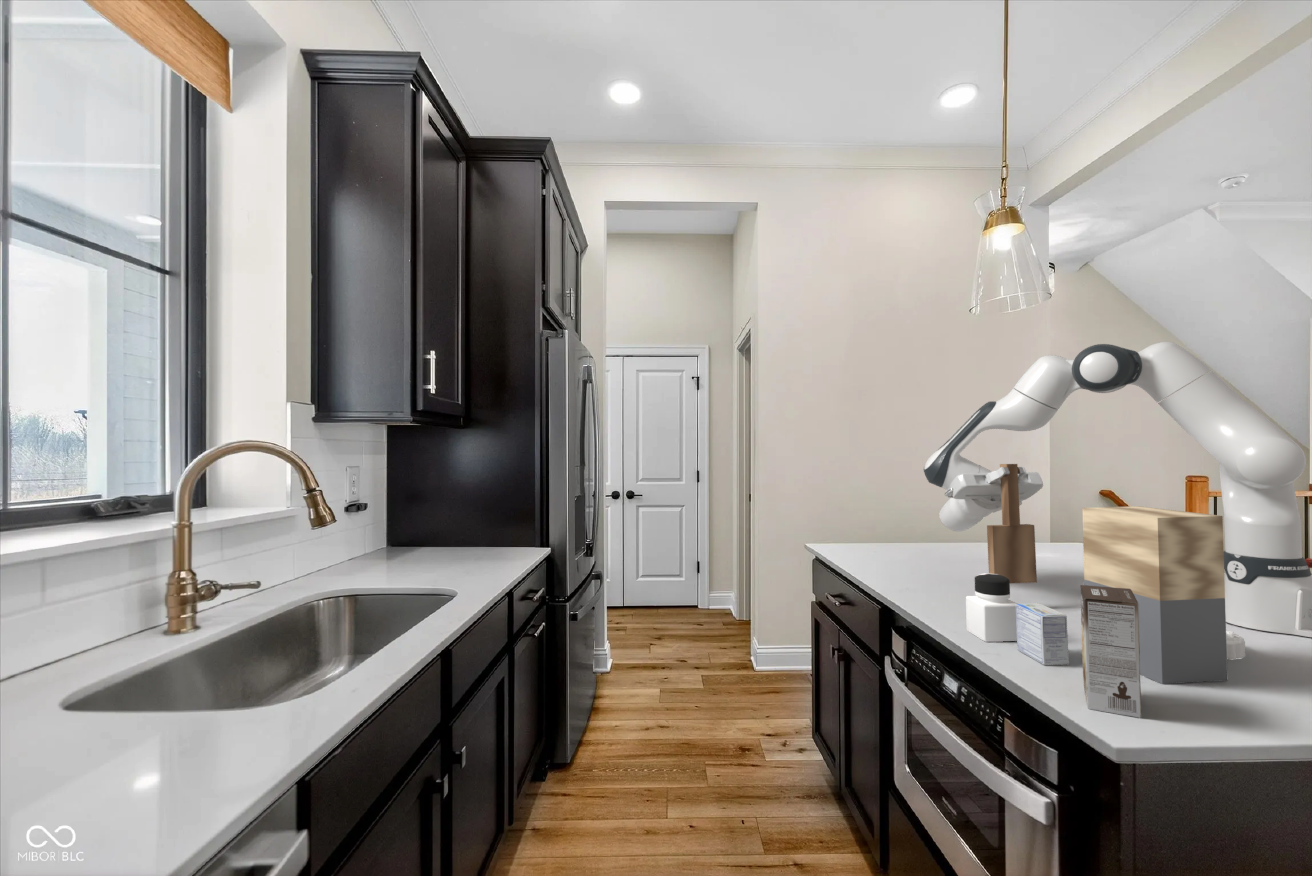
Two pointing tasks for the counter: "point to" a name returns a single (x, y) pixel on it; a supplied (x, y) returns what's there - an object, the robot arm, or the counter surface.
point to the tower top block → (1155, 552)
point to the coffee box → (1111, 650)
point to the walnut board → (1012, 536)
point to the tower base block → (1181, 639)
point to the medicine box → (1042, 633)
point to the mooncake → (1234, 645)
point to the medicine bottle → (991, 609)
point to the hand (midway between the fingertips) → (1014, 469)
